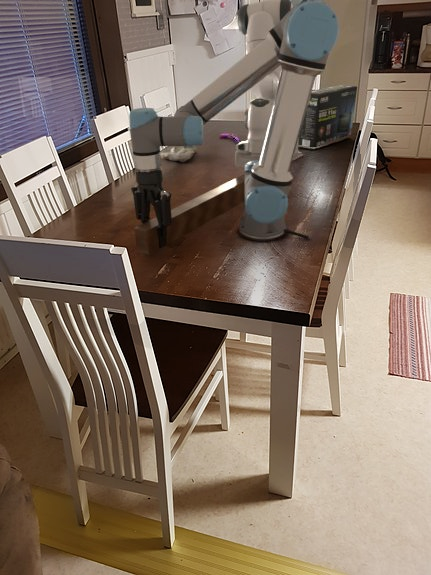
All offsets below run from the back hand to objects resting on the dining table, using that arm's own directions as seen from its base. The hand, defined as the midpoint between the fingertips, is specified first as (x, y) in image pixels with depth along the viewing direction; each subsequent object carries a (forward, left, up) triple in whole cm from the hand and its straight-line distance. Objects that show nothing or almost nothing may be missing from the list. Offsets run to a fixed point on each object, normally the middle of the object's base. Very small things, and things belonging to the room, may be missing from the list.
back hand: (258, 181), depth 178 cm
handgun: (-54, -72, -5) cm, 91 cm away
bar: (+29, +6, -3) cm, 30 cm away
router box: (-81, -28, -5) cm, 86 cm away
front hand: (+58, +13, -2) cm, 60 cm away
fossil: (-11, -65, -5) cm, 67 cm away
